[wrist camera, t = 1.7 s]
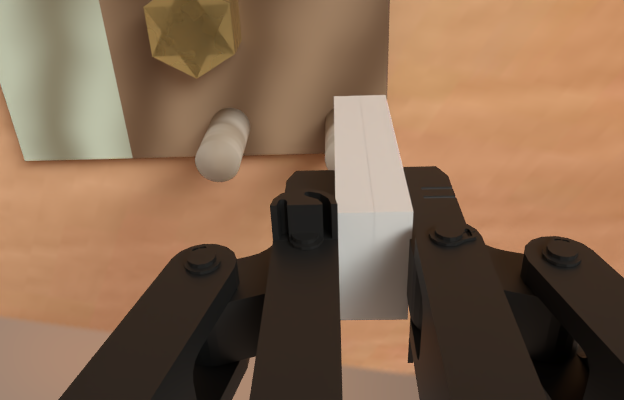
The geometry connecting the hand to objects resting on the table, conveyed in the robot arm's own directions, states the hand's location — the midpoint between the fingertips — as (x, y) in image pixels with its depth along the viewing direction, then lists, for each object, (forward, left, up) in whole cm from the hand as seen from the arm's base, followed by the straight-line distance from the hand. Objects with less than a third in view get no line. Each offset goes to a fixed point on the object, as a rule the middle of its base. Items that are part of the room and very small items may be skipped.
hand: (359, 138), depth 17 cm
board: (-9, 0, -18) cm, 20 cm away
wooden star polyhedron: (-8, 0, -17) cm, 19 cm away
